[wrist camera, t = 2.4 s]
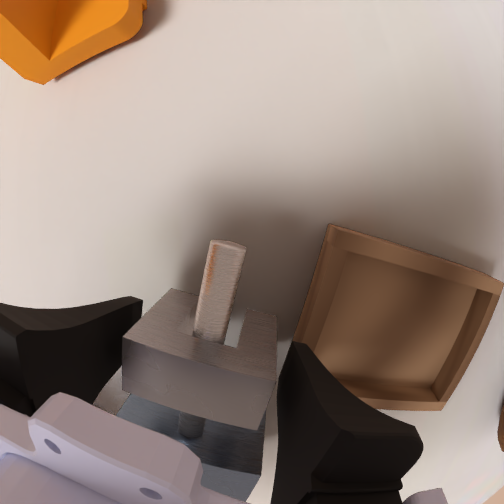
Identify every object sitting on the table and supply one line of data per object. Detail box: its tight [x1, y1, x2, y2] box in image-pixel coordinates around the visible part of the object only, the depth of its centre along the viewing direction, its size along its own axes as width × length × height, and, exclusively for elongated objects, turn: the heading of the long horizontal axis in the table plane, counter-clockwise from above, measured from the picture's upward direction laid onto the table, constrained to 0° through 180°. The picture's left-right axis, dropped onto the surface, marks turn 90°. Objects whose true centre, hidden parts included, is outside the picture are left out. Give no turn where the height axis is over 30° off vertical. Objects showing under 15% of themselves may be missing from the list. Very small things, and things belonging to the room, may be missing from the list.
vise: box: [116, 239, 266, 502], centre depth 12 cm, size 7×15×6 cm, turn 166°
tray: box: [281, 224, 504, 411], centre depth 13 cm, size 10×8×2 cm
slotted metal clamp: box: [122, 288, 277, 430], centre depth 11 cm, size 5×2×5 cm, turn 77°
